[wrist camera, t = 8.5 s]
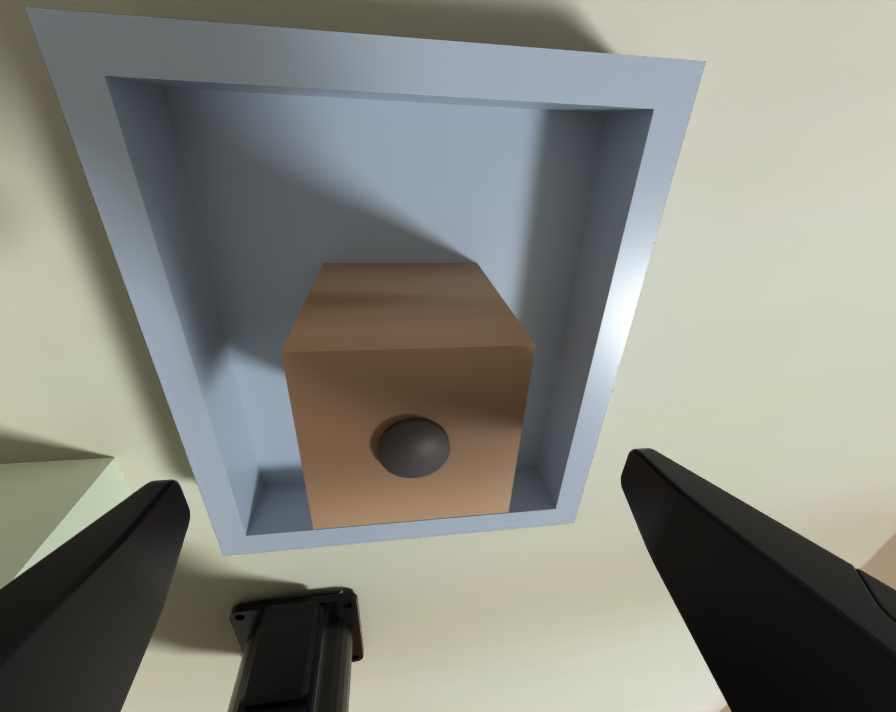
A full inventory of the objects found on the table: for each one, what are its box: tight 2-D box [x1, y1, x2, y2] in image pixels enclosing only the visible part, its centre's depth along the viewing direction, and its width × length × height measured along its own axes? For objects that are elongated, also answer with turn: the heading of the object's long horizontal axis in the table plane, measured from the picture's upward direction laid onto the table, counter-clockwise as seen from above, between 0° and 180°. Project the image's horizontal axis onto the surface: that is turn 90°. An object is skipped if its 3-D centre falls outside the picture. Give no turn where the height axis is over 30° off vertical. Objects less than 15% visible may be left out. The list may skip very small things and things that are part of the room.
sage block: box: [0, 457, 132, 589], centre depth 14 cm, size 5×5×6 cm
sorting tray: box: [25, 7, 706, 556], centre depth 14 cm, size 16×14×3 cm
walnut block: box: [281, 263, 536, 529], centre depth 12 cm, size 5×5×6 cm
